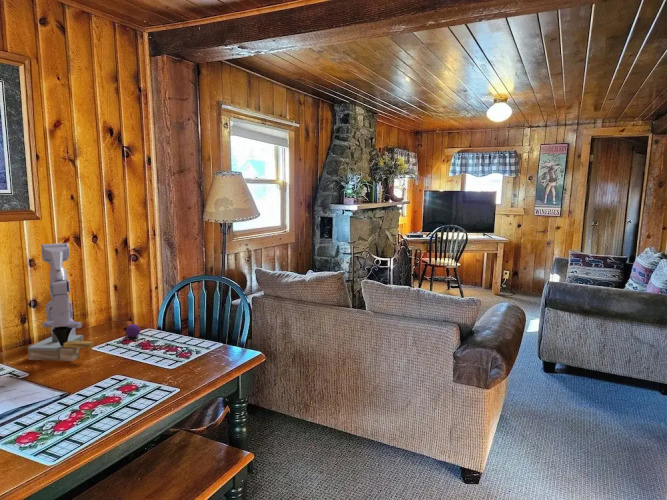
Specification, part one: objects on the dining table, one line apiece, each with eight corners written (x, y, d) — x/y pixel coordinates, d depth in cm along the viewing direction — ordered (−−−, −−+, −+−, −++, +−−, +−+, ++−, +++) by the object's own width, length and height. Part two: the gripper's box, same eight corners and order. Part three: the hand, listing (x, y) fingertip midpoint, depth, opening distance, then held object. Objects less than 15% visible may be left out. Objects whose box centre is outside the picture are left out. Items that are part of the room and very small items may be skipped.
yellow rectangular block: (68, 344, 171) (68, 340, 170) (93, 345, 170) (92, 341, 170) (63, 347, 168) (63, 343, 167) (88, 347, 167) (88, 344, 167)
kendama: (135, 318, 213) (141, 325, 196) (134, 330, 213) (139, 338, 196) (122, 317, 210) (127, 325, 193) (120, 330, 210) (125, 338, 193)
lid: (56, 338, 184) (55, 326, 183) (83, 339, 183) (82, 327, 183) (28, 352, 168) (26, 338, 168) (57, 353, 168) (56, 339, 167)
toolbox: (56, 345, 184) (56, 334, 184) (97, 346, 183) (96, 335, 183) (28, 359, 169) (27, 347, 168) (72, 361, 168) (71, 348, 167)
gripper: (35, 313, 164) (38, 348, 166) (72, 314, 163) (74, 349, 165) (49, 308, 171) (51, 342, 173) (84, 309, 170) (86, 343, 172)
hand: (63, 345), depth 169 cm, fingers closed
